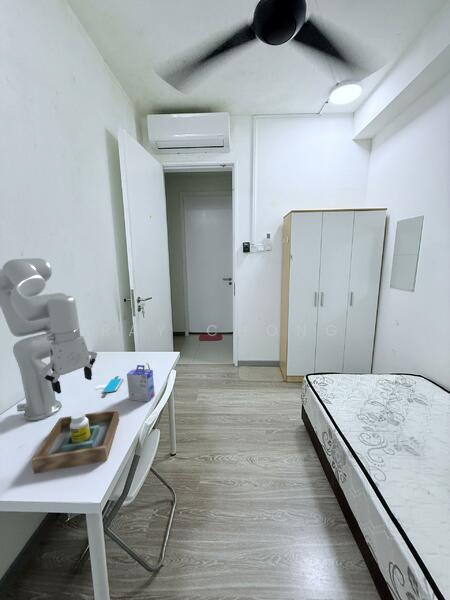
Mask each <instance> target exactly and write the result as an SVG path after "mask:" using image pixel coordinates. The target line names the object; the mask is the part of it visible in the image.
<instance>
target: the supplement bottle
mask: <svg viewBox="0 0 450 600" xmlns="http://www.w3.org/2000/svg"><path fill="white" fill-rule="evenodd" d="M85 414H86V412H84V411H78V412H74V413H73V414H72V415H70V416H71V421H72V422H71V423H70V430H71V437H72V443H73V444H74V443H80V442H86V441H89V440H90V437H91V436H90V428H89V421H88V418H86V417H85Z"/></svg>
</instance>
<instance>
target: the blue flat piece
mask: <svg viewBox="0 0 450 600" xmlns="http://www.w3.org/2000/svg"><path fill="white" fill-rule="evenodd" d="M119 377H120V376H115V377H114V378H112V379H111V380H110V381H109V382H108V383H107V384H98V385H96V386H95V388H94V390H102V389H103V390H102V395H101V398H105V397H106V396H107V395H108V394H110V393H115V392H118V390H119V388H120V386H121V385H122V383H123V382H124V381H125V379H124V378H119Z"/></svg>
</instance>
